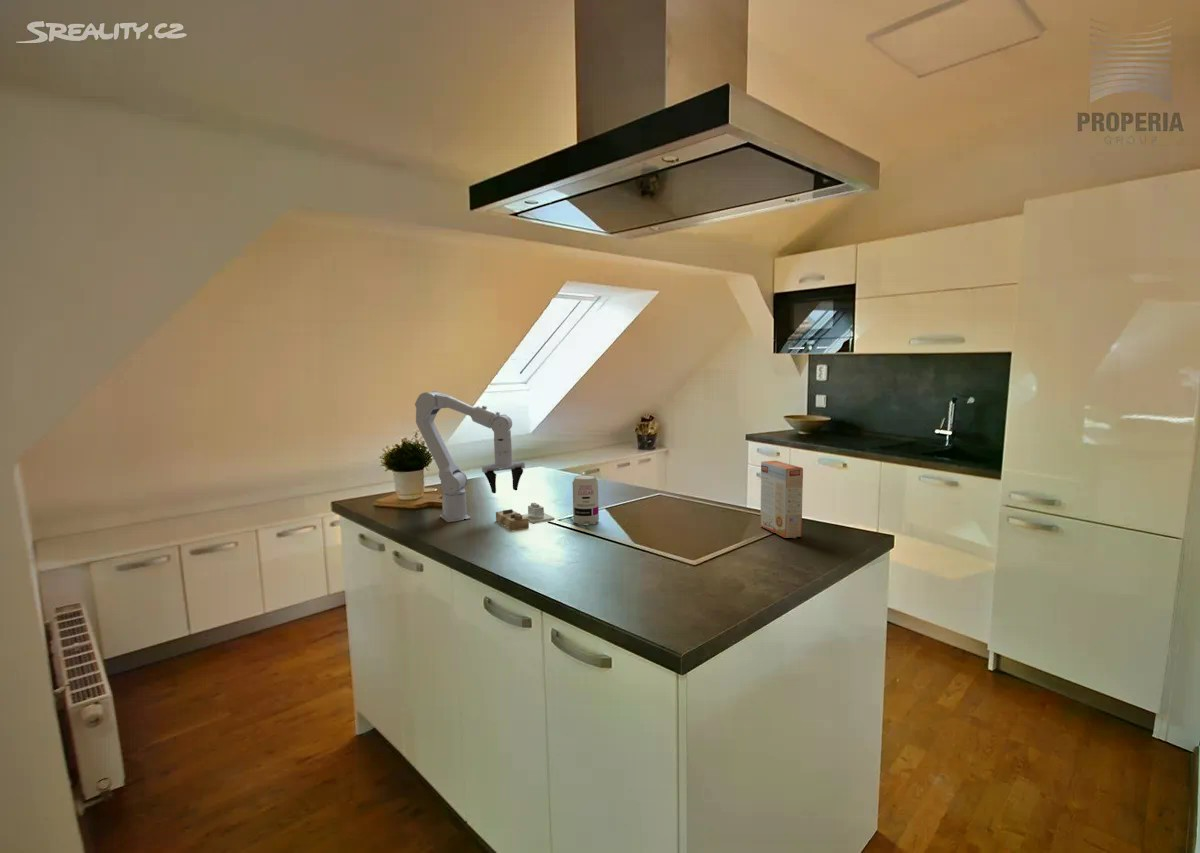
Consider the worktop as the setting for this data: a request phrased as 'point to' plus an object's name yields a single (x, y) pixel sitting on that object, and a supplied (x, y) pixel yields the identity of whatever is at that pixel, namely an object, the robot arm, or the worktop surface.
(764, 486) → the cracker box
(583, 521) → the supplement can
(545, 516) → the rubber mat
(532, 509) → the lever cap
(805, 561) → the worktop surface
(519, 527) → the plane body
